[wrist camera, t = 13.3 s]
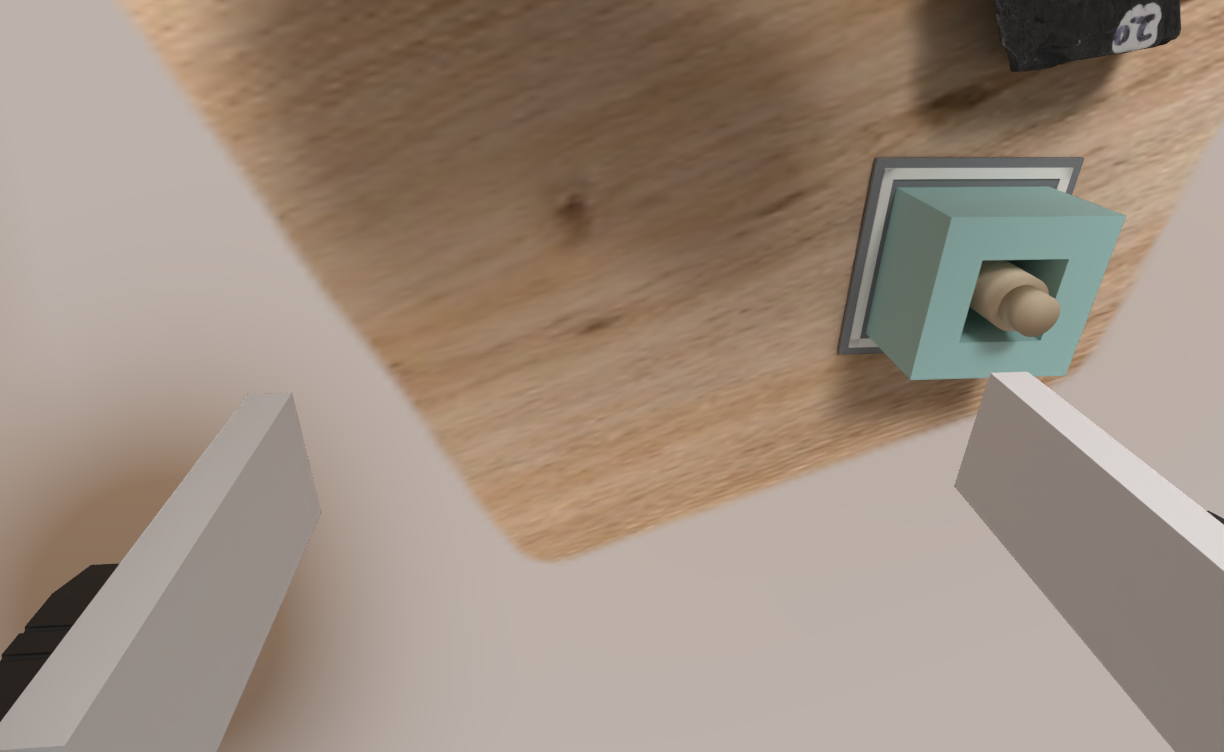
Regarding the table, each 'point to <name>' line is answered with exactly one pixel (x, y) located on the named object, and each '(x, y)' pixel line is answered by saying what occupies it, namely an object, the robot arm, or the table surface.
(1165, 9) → the rock
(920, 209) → the block with square hole
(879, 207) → the mat
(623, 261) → the table surface
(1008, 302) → the post
